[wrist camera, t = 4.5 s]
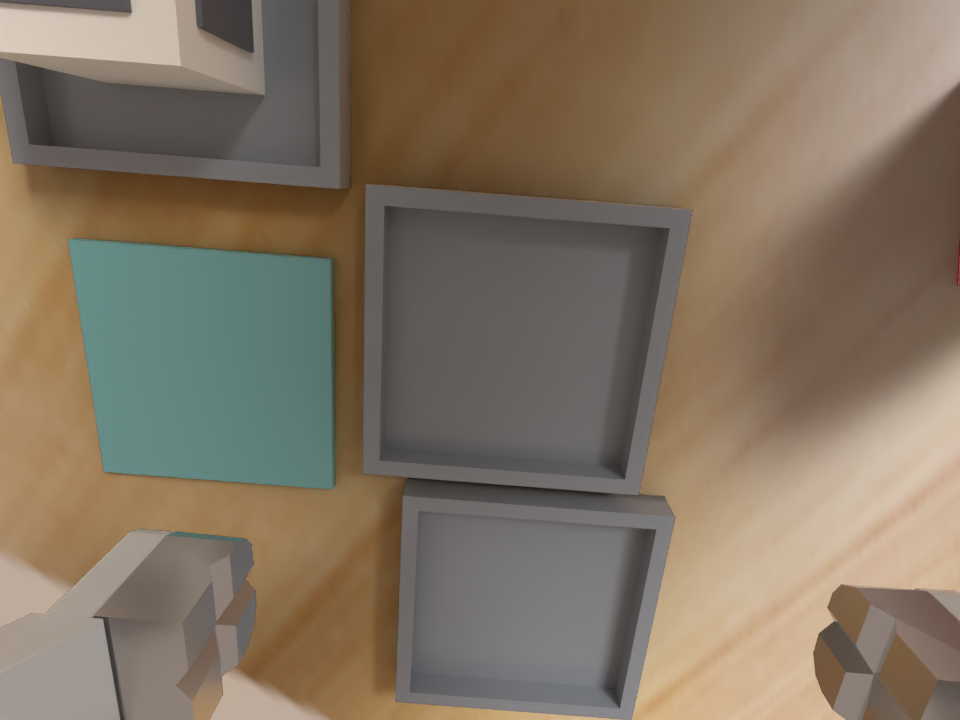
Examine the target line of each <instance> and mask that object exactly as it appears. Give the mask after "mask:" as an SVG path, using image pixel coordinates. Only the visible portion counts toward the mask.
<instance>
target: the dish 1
mask: <svg viewBox="0 0 960 720" xmlns="http://www.w3.org/2000/svg"><path fill="white" fill-rule="evenodd" d="M261 7H262V30H263V54H264V77H265V95H253V94H241V93H228V92H215V91H203V90H190V89H177V88H165V87H152V86H139V85H127V84H114V83H105V82H100V81H96V80H92V79H88V78H84V77H79V76H75V75H71V74H67V73H63V72H58V71H54V70H50V69H46V68H42V67H37V66H33V65H29V64H25V63H21V62H16V61H12V60H8V59H4V58H0V92H1V97H2V103H3V109H4V114H5V120H6V126H7V131H8V137H9V142H10V148H11V154H12V159H13V163H15V164H28V165H41V166H53V167H66V168H79V169H92V170H104V171H117V172H130V173H142V174H155V175H168V176H181V177H193V178H206V179H219V180H231V181H244V182H257V183H270V184H282V185H295V186H308V187H320V188H333V189H346V188H351V0H261Z"/></svg>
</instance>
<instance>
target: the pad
mask: <svg viewBox="0 0 960 720" xmlns="http://www.w3.org/2000/svg"><path fill="white" fill-rule="evenodd" d="M68 244H69V250H70V256H71V263H72V269H73V276H74V282H75V289H76V295H77V301H78V308H79V314H80V321H81V327H82V334H83V340H84V346H85V353H86V359H87V366H88V372H89V378H90V385H91V391H92V398H93V404H94V411H95V417H96V423H97V430H98V436H99V443H100V449H101V456H102V462H103V468H104V472H112V473H125V474H138V475H151V476H164V477H177V478H189V479H202V480H215V481H228V482H241V483H254V484H267V485H280V486H293V487H305V488H318V489H331V490H333V488H334V486H335V377H334V258H322V257H309V256H297V255H284V254H271V253H258V252H246V251H233V250H220V249H207V248H195V247H182V246H169V245H156V244H144V243H131V242H118V241H105V240H93V239H80V238H74V239H68Z"/></svg>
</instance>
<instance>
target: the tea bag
mask: <svg viewBox="0 0 960 720" xmlns="http://www.w3.org/2000/svg"><path fill="white" fill-rule="evenodd" d="M957 286H960V242H959V260H958V277H957Z"/></svg>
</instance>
